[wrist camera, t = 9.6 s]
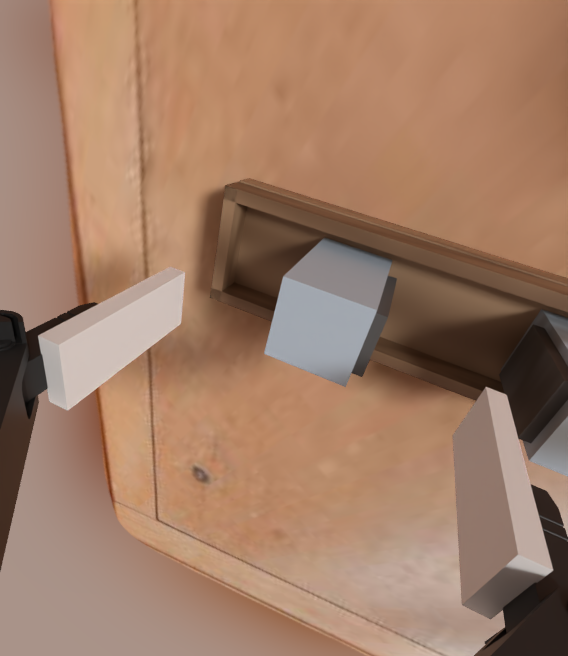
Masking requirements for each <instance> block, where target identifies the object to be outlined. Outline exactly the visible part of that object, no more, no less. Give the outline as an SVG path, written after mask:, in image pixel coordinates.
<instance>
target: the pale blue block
mask: <svg viewBox="0 0 568 656" xmlns="http://www.w3.org/2000/svg"><path fill="white" fill-rule="evenodd" d="M391 264H392V260H391V259H388V258H385V257H382V256H379V255H376V254H373V253H370V252H367V251H364V250H361V249H358V248H355V247H352V246H349V245H346V244H343V243H340V242H337V241H334V240H331V239H328V238H324V239H322V240H321V241H320V242H319V243H318V244H317V245H316V246H315V247H314V248H313V249H312V250H311V251H310V252H309V253H308V254H307V255H305V256H304V257H303V258H302V259H301V260H300V261H299V262H298V263H297V264H296V265H295V266H294V267H293V268H292V269H291V270H289V271H288V272H287V273H286V274H285V275H284V276H283V280H282V284H281V288H280V292H279V296H278V300H277V304H276V308H275V312H274V316H273V320H272V324H271V328H270V332H269V336H268V340H267V344H266V348H265V352H264V354H266V355H268V356H271V357H273V358H276V359H278V360H281V361H283V362H286V363H288V364H290V365H293V366H295V367H298V368H300V369H303V370H305V371H308V372H310V373H313V374H315V375H317V376H320V377H322V378H325V379H327V380H330V381H332V382H335V383H337V384H340V385H342V386H344V387H346V385H347V382H348V380H349V377H350V375H351V373H353V374H356V375H358V376H361V377H362V376H363V374H364V372H365V369H366V367H367V365H368V362H369V360H370V358H371V356H372V353H373V351H374V349H375V346H376V344H377V342H378V339H379V337H380V335H381V333H382V330H383V328H384V326H385V323H386V321H387V319H388V316H389V312H390V307H391V303H392V299H393V294H394V290H395V286H396V281H397V278H394V277H391V276H388V273H389V270H390V267H391Z"/></svg>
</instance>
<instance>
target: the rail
mask: <svg viewBox="0 0 568 656" xmlns="http://www.w3.org/2000/svg"><path fill="white" fill-rule="evenodd" d="M324 238H328V239H331V240H334V241H337V242H340V243H343V244H346V245H349V246H352V247H355V248H358V249H361V250H364V251H367V252H370V253H373V254H376V255H379V256H382V257H385V258H388V259H391V260H392V264H391V267H390V270H389V273H388V276H391V277H394V278H397V281H396V286H395V290H394V294H393V299H392V303H391V307H390V312H389V316H388V319H387V321H386V323H385V326H384V328H383V330H382V333H381V335H380V337H379V339H378V342H377V344H376V346H375V349H374V351H373V353H372V356H371V358H370V360H372V361H375V362H378V363H380V364H383V365H385V366H388V367H390V368H393V369H396V370H398V371H401V372H403V373H406V374H409V375H411V376H414V377H416V378H419V379H421V380H424V381H427V382H429V383H432V384H434V385H437V386H439V387H442V388H445V389H447V390H450V391H452V392H455V393H458V394H460V395H463V396H465V397H468V398H470V399H473V400H476V401H477V399H478V398H479V396H480V395H481V393H482V392H483V390H484V389H485V388H486V387H488V388H490V389H493V390H495V391H498V392H501V393H503V394H506V395H507V398H508V401H509V405H510V409H511V413H512V417H513V420H514V424H515V428H516V432H517V435H518V439H521V440H523V443H524V446H525V449H526V452H527V456H528V459H529V461H531V462H534V463H536V464H538V465H541V466H543V467H546V468H548V469H551V470H553V471H556V472H558V473H561V474H563V475H566V476H568V278H564V277H561V276H558V275H555V274H552V273H549V272H545V271H542V270H539V269H536V268H533V267H530V266H526V265H523V264H520V263H517V262H514V261H510V260H507V259H504V258H501V257H498V256H495V255H491V254H488V253H485V252H482V251H479V250H475V249H472V248H469V247H466V246H463V245H460V244H456V243H453V242H450V241H447V240H444V239H441V238H437V237H434V236H431V235H428V234H425V233H421V232H418V231H415V230H412V229H409V228H406V227H402V226H399V225H396V224H393V223H390V222H387V221H383V220H380V219H377V218H374V217H371V216H367V215H364V214H361V213H358V212H355V211H352V210H348V209H345V208H342V207H339V206H336V205H332V204H329V203H326V202H323V201H320V200H317V199H313V198H310V197H307V196H304V195H301V194H298V193H294V192H291V191H288V190H285V189H282V188H278V187H275V186H272V185H269V184H266V183H263V182H259V181H256V180H253V179H250V178H249V179H244V180H240V182H238V183H233V184H229V185H225V192H224V200H223V207H222V214H221V222H220V229H219V236H218V244H217V251H216V258H215V265H214V273H213V280H212V287H211V295H210V298H212V299H215V300H217V301H220V302H223V303H225V304H228V305H230V306H233V307H235V308H238V309H241V310H243V311H246V312H248V313H251V314H254V315H256V316H259V317H261V318H264V319H266V320H269V321H272V320H273V316H274V312H275V308H276V304H277V300H278V296H279V292H280V288H281V284H282V280H283V276H284V275H285V274H286V273H287V272H288V271H289V270H291V269H292V268H293V267H294V266H295V265H296V264H297V263H298V262H299V261H300V260H301V259H302V258H303V257H304V256H305V255H307V254H308V253H309V252H310V251H311V250H312V249H313V248H314V247H315V246H316V245H317V244H318V243H319V242H320V241H321V240H322V239H324Z"/></svg>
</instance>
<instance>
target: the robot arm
mask: <svg viewBox="0 0 568 656" xmlns="http://www.w3.org/2000/svg"><path fill="white" fill-rule="evenodd" d="M184 280H185V272H183V271H180V270H178V269H175V268H173V267H169V268H167V269H165V270H163V271H161V272H159V273H157V274H155V275H153V276H151V277H149V278H147V279H146V280H144V281H142V282H140V283H138V284H136V285H134V286H132V287H130V288H128V289H126V290H124V291H123V292H121V293H119V294H117V295H115V296H113V297H111V298H109V299H107V300H105V301H103V302H101V303H100V304H97V303H95V302H93V303H89V304H84V305H80V306H78V307H76V308H74V309H72V310H70V311H68V312H67V313H64V314H62V315H60V316H58V317H57V318H54V319H52V320H50V321H48V322H46V323H44V324H42V325H40V326H37V327H36V328H33V329H31V330H29V331H27V332H25V327H24V322H23V318H22V316H21V315H20V314H18V313H16V312H13V311H6V310H0V570H1V566H2V561H3V557H4V553H5V548H6V544H7V539H8V535H9V531H10V526H11V522H12V517H13V513H14V509H15V504H16V500H17V496H18V491H19V487H20V482H21V478H22V474H23V469H24V464H25V460H26V456H27V452H28V447H29V443H30V438H31V434H32V430H33V425H34V421H35V416H36V412H37V408H38V403H39V401H38V394H40V393H41V392H43V391H44V390H46V389H47V391H48V397H49V402H51V403H53V404H55V405H57V406H59V407H61V408H63V409H65V410H69V409H70V408H72V407H73V406H74V405H75V404H77V403H78V402H79V401H81V400H82V399H83V398H85V397H86V396H87V395H89V394H90V393H91V392H93V391H94V390H95V389H96V388H98V387H99V386H100V385H102V384H103V383H104V382H106V381H107V380H108V379H110V378H111V377H112V376H113V375H115V374H116V373H117V372H119V371H120V370H121V369H123V368H124V367H125V366H126V365H128V364H129V363H130V362H132V361H133V360H134V359H136V358H137V357H138V356H139V355H141V354H142V353H143V352H145V351H146V350H147V349H149V348H150V347H151V346H153V345H154V344H155V343H156V342H158V341H159V340H160V339H162V338H163V337H164V336H166V335H167V334H168V333H169V332H171V331H172V330H173V329H175V328H176V327H177V326H179V325H180V324H181V317H182V305H183V292H184ZM453 451H454V469H455V488H456V506H457V524H458V543H459V561H460V579H461V598H462V605H463V606H465V607H467V608H469V609H471V610H473V611H475V612H477V613H479V614H481V615H483V616H485V617H487V618H489V619H492V618H493V617H494V616H496V615H497V614H498V613H499V612H501V611H502V610H503V613H504V620H505V628H503V629H502V630H500V631H499V632H498V633H496V634H495V635H494V636H492V637H491V638H490V639H488V640H487V641H485V644H486V645H485V646H484V647H483V648H482V649H480V650H479V651H478V652H477V653H476V654H475V655H474V656H568V537H567V534H566V531H565V528H563V526H564V524H563V521H562V518H561V515H560V512H559V509H558V507H557V506H556V504H555V503H554V501H553V500H552V498H551V497H550V495H549V494H548V492H547V491H545V490H543V489H541V488H538V487H536V486H533V485H531V484H530V481H529V477H528V473H527V469H526V466H525V462H524V458H523V454H522V450H521V447H520V443H519V439H518V435H517V432H516V428H515V424H514V420H513V417H512V413H511V409H510V405H509V401H508V398H507V395H506V394H503V393H501V392H498V391H495V390H493V389H490V388H488V387H486V388H485V389H484V390H483V392H482V393H481V395H480V396H479V398H478V399H477V401H476V402H475V404H474V405H473V406H472V408H471V409H470V411H469V412H468V414H467V415H466V417H465V418H464V420H463V421H462V422H461V424H460V425H459V427H458V428H457V430H456V431H455V433H454V434H453Z"/></svg>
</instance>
